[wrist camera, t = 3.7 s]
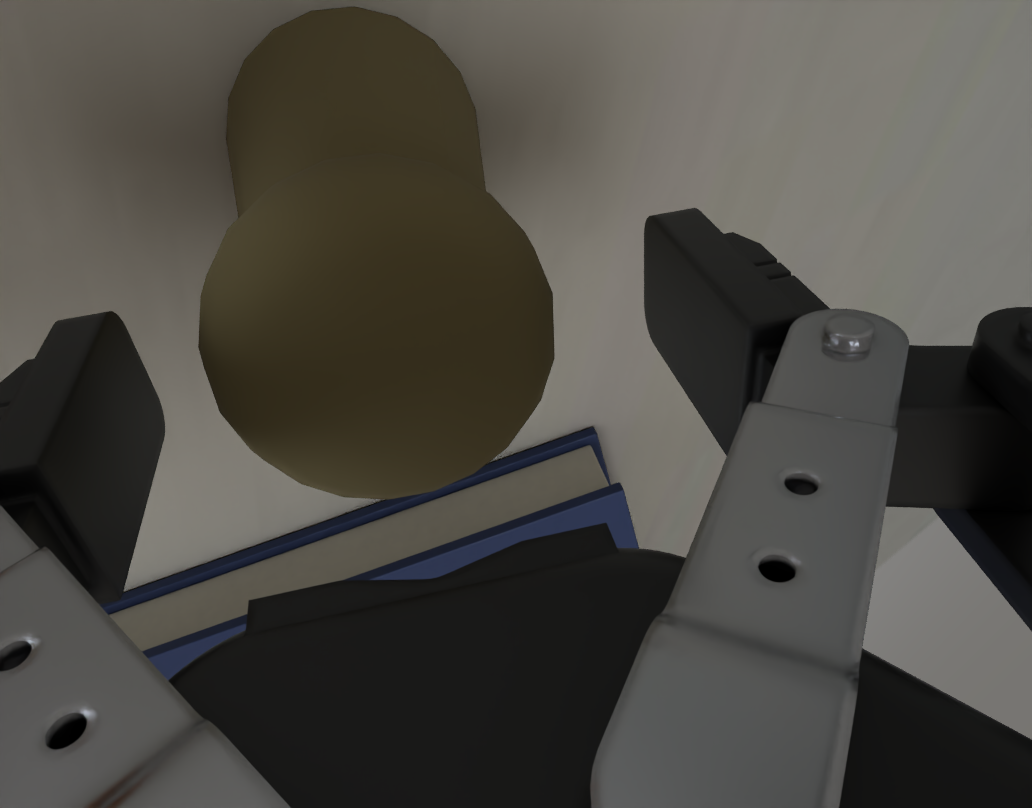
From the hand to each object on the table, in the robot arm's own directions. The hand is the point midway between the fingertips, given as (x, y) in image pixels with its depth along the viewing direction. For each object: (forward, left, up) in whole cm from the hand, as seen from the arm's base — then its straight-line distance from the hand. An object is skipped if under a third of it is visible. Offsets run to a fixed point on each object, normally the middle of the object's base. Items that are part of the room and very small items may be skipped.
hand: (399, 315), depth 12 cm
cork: (0, 0, -9) cm, 9 cm away
